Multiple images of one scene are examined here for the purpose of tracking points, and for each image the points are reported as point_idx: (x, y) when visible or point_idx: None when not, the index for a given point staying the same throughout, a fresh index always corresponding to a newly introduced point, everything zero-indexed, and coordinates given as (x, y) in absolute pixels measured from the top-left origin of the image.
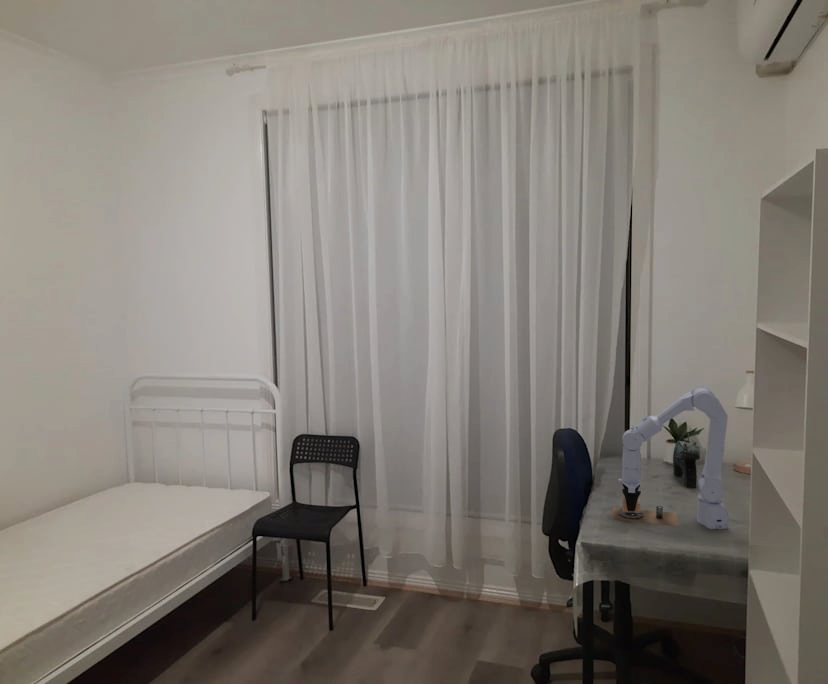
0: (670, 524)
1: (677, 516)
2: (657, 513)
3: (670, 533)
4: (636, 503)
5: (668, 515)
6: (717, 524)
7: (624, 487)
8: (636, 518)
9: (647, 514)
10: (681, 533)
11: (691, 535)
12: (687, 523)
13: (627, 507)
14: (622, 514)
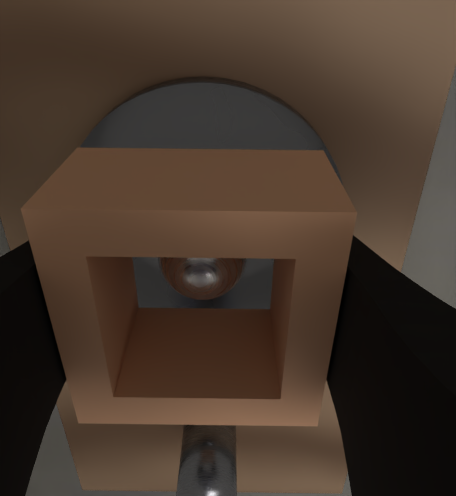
0: (84, 455)
1: (268, 492)
2: (185, 438)
3: None
4: (71, 388)
5: (278, 457)
6: None
7: (443, 407)
8: None
9: None
10: (49, 461)
11: (43, 492)
12: (238, 492)
13: (28, 245)
14: (100, 132)
